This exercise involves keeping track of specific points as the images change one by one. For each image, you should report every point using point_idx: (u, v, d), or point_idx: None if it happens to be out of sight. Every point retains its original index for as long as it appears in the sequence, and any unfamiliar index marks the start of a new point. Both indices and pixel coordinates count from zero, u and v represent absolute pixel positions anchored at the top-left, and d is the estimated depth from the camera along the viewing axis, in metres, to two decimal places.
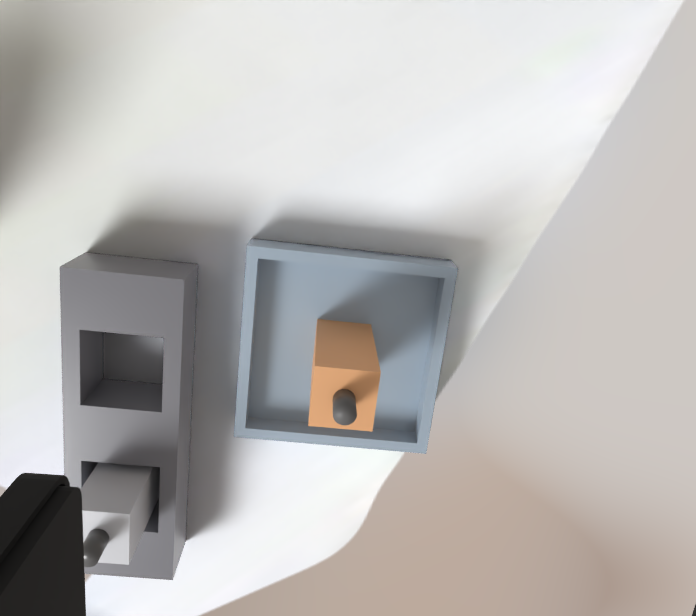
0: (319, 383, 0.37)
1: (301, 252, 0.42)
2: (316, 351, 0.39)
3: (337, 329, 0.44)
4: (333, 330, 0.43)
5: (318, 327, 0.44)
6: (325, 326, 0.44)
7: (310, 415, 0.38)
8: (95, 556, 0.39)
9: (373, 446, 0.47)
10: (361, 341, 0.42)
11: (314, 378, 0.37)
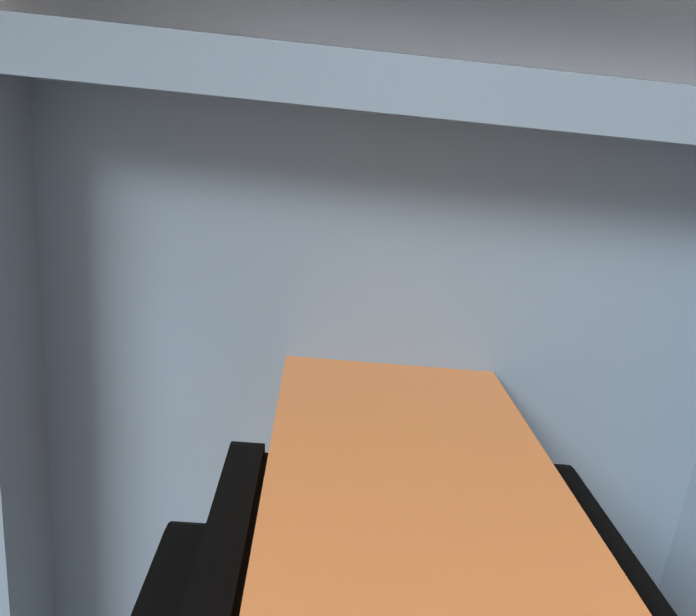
0: None
1: None
2: None
3: None
4: None
5: None
6: None
7: None
8: None
9: None
10: None
11: None
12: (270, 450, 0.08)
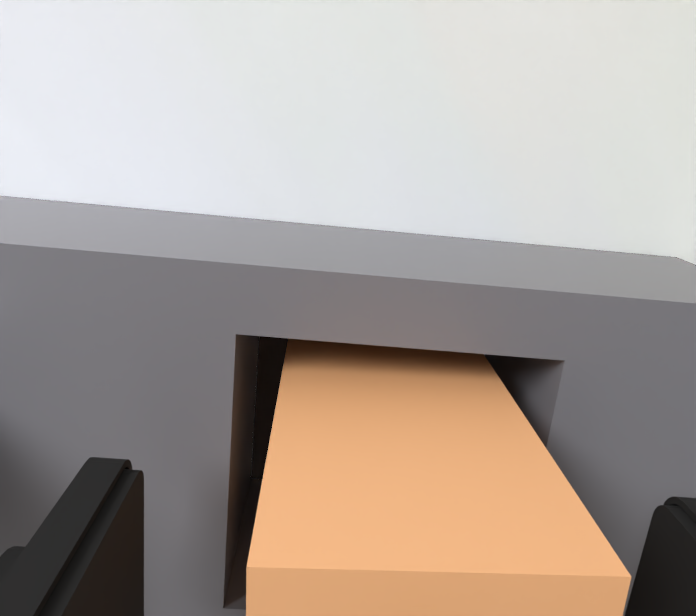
0: (523, 608, 0.07)
1: None
2: (550, 460, 0.09)
3: None
4: None
5: None
6: None
7: (317, 575, 0.06)
8: None
9: None
10: None
11: (554, 580, 0.06)
12: (284, 362, 0.12)
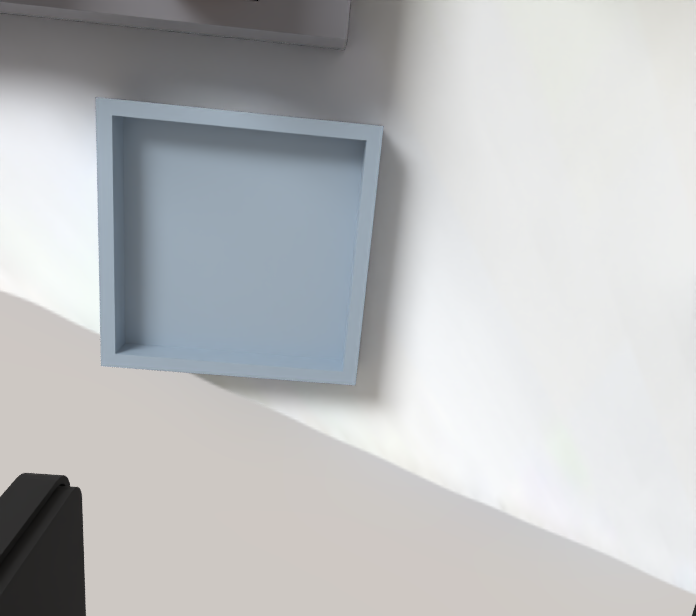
0: None
1: (374, 198, 0.33)
2: None
3: None
4: None
5: None
6: None
7: None
8: None
9: (103, 297, 0.34)
10: None
11: None
12: None
